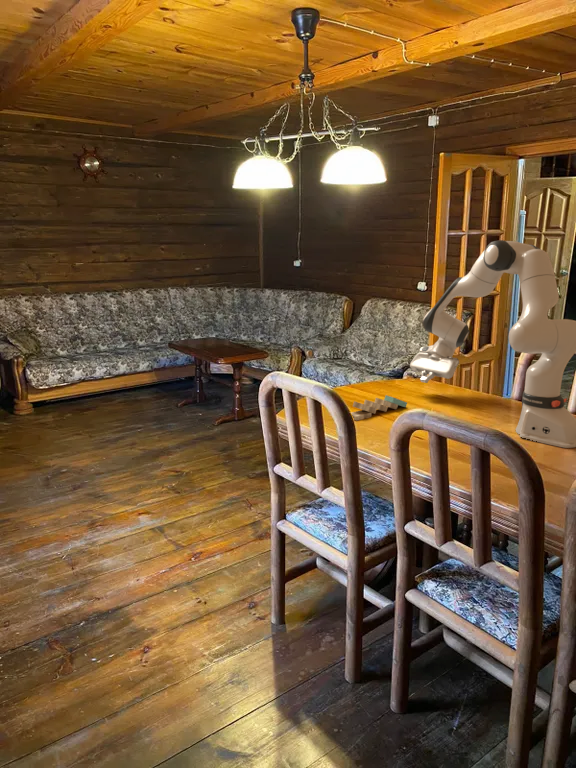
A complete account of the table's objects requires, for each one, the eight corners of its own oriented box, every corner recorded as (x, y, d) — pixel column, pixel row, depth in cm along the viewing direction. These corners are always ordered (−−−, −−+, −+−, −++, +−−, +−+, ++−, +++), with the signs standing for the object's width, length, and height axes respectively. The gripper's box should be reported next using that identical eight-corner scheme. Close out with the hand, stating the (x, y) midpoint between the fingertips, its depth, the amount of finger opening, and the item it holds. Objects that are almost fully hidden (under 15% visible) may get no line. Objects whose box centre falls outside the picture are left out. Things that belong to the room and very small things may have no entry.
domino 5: (407, 402, 233) (394, 397, 228) (405, 407, 233) (392, 402, 228) (398, 400, 236) (385, 395, 231) (397, 404, 236) (384, 400, 231)
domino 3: (387, 406, 227) (372, 401, 222) (386, 411, 227) (371, 407, 222) (380, 404, 231) (365, 399, 226) (378, 409, 231) (363, 404, 226)
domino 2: (371, 412, 221) (355, 416, 216) (371, 417, 221) (355, 421, 217) (362, 409, 224) (347, 413, 220) (362, 414, 225) (347, 418, 220)
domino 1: (376, 408, 223) (362, 404, 218) (375, 413, 223) (360, 409, 218) (368, 406, 227) (354, 401, 222) (366, 411, 227) (352, 406, 222)
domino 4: (398, 404, 230) (384, 400, 225) (396, 409, 230) (382, 405, 225) (389, 402, 234) (376, 397, 229) (388, 406, 234) (374, 402, 229)
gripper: (464, 363, 238) (447, 391, 234) (424, 355, 253) (407, 381, 250) (458, 354, 234) (440, 381, 231) (417, 346, 250) (401, 372, 246)
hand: (423, 381), depth 240 cm, fingers closed
